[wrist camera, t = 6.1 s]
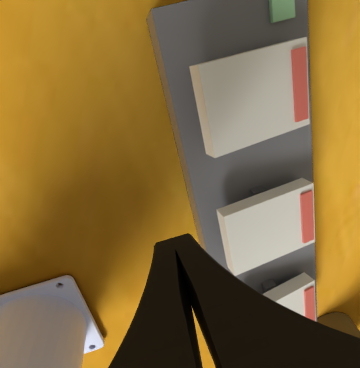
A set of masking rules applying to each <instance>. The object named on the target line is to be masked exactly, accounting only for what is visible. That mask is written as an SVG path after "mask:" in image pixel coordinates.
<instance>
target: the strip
mask: <svg viewBox="0 0 360 368" xmlns="http://www.w3.org/2000/svg"><path fill="white" fill-rule="evenodd" d="M146 20H147V24H148V28H149V32H150V37H151V41H152V45H153V49H154V53H155V58H156V62H157V66H158V70H159V74H160V79H161V83H162V87H163V91H164V96H165V100H166V104H167V108H168V112H169V117H170V121H171V125H172V129H173V133H174V138H175V142H176V146H177V150H178V154H179V159H180V163H181V167H182V171H183V175H184V180H185V184H186V188H187V192H188V196H189V201H190V205H191V209H192V213H193V217H194V222H195V226H196V230H197V234H198V238H199V243H200V246H201V247H202V248H203V249H204V250H205V251H206V252H207V253H208V254H209V255H210V256H211V257H212V258H213V259H215V260H216V261H217V262H218V263H219V264H220V265H221V266H223V267H224V268H225V269H226V270H228V271H229V272H230V273H232V272H231V271H230V269H229V268H228V267H227V262H226V257H225V252H224V246H223V241H222V236H221V231H220V226H219V221H218V216H217V211H216V209H219V208H222V207H225V206H227V205H230V204H233V203H235V202H238V201H241V200H243V199H246V198H249V197H252V196H254V195H257V194H260V193H262V192H265V191H268V190H270V189H273V188H276V187H279V186H281V185H284V184H287V183H289V182H292V181H295V180H297V179H300V178H304V179H306V180H308V181H310V182H312V183H313V163H312V129H311V95H310V60H309V26H308V0H188V1H184V2H179V3H175V4H171V5H166V6H162V7H158V8H153V9H151V10H150V12H149V15H148V17H147V19H146ZM303 37H307V58H308V89H309V120H310V124H308V125H306V126H303V127H300V128H297V129H295V130H292V131H289V132H286V133H283V134H281V135H278V136H275V137H272V138H270V139H267V140H264V141H261V142H259V143H256V144H253V145H250V146H247V147H245V148H242V149H239V150H236V151H234V152H231V153H228V154H225V155H223V156H220V157H217V158H214V157H211V156H209V155H207V154H206V150H205V145H204V140H203V135H202V130H201V125H200V120H199V115H198V109H197V104H196V99H195V94H194V89H193V84H192V79H191V73H190V68H189V66H193V65H197V64H200V63H204V62H208V61H212V60H216V59H220V58H224V57H227V56H231V55H235V54H239V53H243V52H247V51H250V50H254V49H258V48H262V47H266V46H270V45H274V44H277V43H281V42H285V41H289V40H293V39H298V38H303ZM304 272H305V273H306V274H307V275H308V276H310V277H311V278H312V279H314V280H315V309H316V322H317V299H316V265H315V242H314V243H311V244H309V245H307V246H304V247H302V248H300V249H297V250H295V251H293V252H290V253H288V254H286V255H283V256H281V257H279V258H276V259H274V260H272V261H269V262H267V263H265V264H262V265H260V266H258V267H255V268H253V269H251V270H248V271H246V272H244V273H241V274H239V275H237V276H236V277H237V278H238V279H240V280H241V281H242V282H244V283H245V284H247V285H248V286H250V287H251V288H253V289H255V290H256V291H258V292H259V293H261V294H264V293H266V292H267V291H269V290H271V289H273V288H275V287H277V286H279V285H281V284H283V283H285V282H286V281H288V280H290V279H292V278H294V277H296V276H298V275H300V274H302V273H304ZM232 274H233V273H232Z"/></svg>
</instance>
